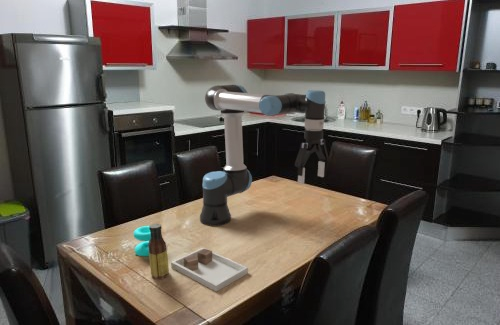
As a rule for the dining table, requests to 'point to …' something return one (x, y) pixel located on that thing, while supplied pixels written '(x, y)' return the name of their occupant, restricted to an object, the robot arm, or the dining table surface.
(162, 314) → the dining table surface
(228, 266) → the tray
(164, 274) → the sauce bottle
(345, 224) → the dining table surface
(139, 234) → the donuts
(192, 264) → the walnut block
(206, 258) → the walnut block
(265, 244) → the dining table surface
